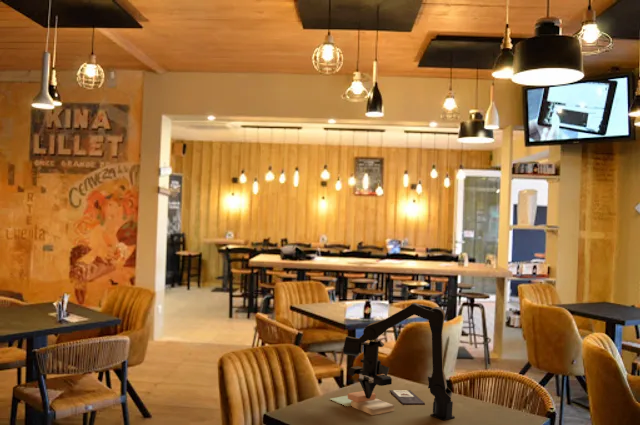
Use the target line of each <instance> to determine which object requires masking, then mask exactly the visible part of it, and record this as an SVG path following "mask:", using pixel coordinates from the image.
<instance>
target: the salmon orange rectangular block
mask: <svg viewBox="0 0 640 425" xmlns="http://www.w3.org/2000/svg"><path fill="white" fill-rule="evenodd" d="M376 395H377V394H376V393H374V392H372V395H371V397H370V399H367V398H366V395H365V393H364V390H361V391H354V392H349V393H347V396H348V399H350V400H353V401H356V402H362V401H368V400H373V399H377V398H376Z"/></svg>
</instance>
